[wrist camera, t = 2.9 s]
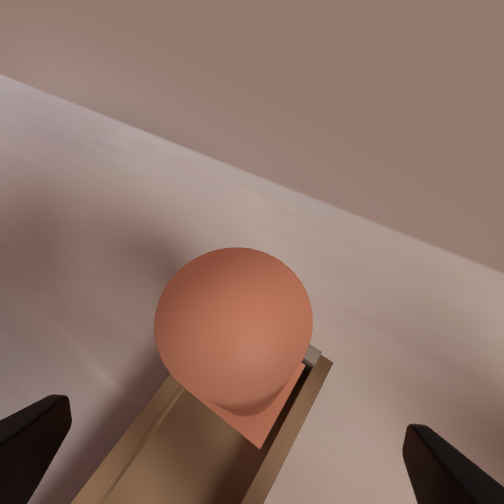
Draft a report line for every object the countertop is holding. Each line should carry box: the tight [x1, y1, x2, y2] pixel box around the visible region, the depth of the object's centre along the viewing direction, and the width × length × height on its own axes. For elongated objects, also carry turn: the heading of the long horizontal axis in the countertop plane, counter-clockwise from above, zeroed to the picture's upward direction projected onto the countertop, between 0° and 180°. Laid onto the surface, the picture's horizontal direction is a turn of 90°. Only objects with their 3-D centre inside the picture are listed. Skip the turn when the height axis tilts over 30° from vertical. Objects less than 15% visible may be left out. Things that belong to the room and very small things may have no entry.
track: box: [70, 344, 333, 504], centre depth 13 cm, size 16×7×4 cm, turn 146°
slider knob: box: [154, 248, 313, 449], centre depth 11 cm, size 4×5×11 cm
